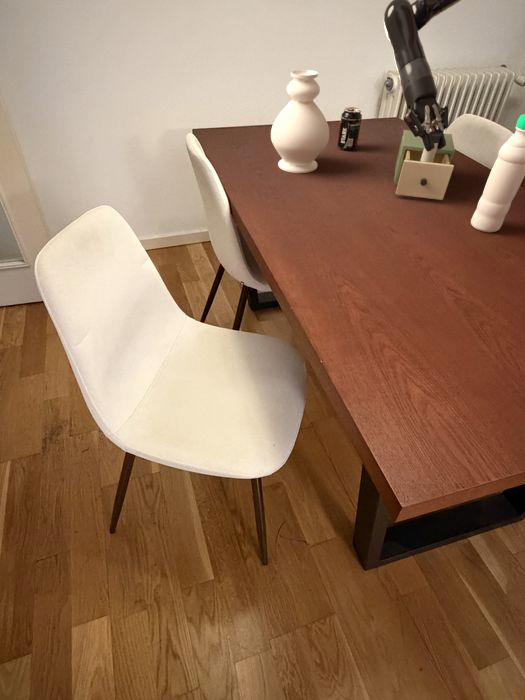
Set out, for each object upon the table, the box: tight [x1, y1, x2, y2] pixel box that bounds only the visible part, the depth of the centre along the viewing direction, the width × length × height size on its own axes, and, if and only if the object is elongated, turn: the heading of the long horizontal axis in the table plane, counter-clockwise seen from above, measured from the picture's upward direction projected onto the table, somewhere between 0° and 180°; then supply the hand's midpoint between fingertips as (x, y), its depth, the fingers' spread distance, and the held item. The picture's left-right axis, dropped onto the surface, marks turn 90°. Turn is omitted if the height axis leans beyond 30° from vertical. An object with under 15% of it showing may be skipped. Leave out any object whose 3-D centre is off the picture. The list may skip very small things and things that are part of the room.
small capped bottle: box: [421, 131, 441, 163], centre depth 107 cm, size 3×3×7 cm
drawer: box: [395, 150, 455, 201], centre depth 112 cm, size 15×13×9 cm
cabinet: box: [393, 129, 456, 186], centre depth 119 cm, size 15×14×11 cm
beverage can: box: [336, 106, 363, 151], centre depth 136 cm, size 7×7×12 cm
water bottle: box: [470, 113, 525, 233], centre depth 92 cm, size 7×7×25 cm
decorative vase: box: [270, 69, 330, 174], centre depth 120 cm, size 18×18×25 cm
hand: (436, 148), depth 105 cm, fingers closed on small capped bottle, 3 cm apart
